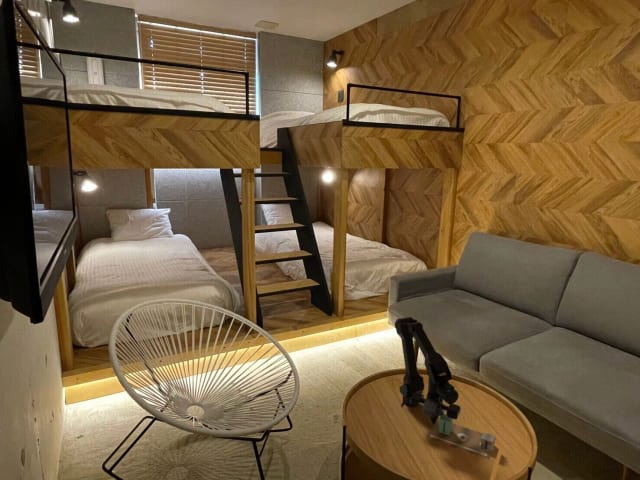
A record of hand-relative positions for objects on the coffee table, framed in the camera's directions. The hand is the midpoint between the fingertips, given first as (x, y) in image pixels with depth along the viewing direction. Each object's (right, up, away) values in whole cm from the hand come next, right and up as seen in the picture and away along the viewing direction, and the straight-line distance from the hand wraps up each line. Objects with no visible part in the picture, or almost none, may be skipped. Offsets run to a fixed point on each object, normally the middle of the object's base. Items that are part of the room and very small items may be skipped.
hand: (433, 423), depth 172 cm
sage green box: (+4, -2, -2) cm, 5 cm away
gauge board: (+9, -4, -5) cm, 11 cm away
